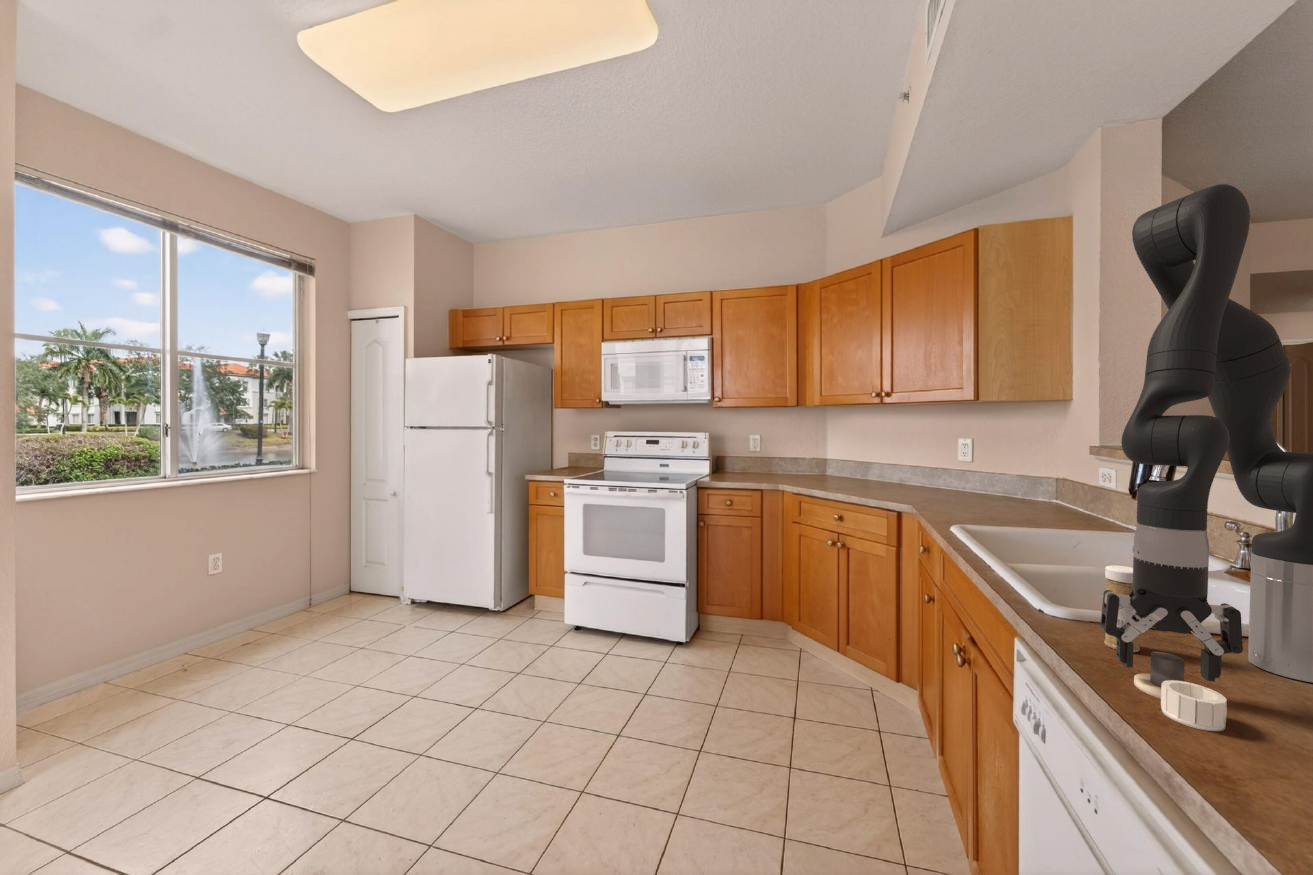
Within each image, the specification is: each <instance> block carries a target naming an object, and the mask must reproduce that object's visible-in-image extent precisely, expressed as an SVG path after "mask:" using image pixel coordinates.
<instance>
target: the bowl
mask: <svg viewBox="0 0 1313 875" xmlns="http://www.w3.org/2000/svg"><path fill="white" fill-rule="evenodd" d="M1227 703H1228V700H1227V698H1226V697H1225V696H1224V695H1223V694H1222V693H1220V692H1218V691H1215V690H1214V689H1211V688H1208V687H1206V686H1203V685H1200V684H1196V683H1193V682H1189V681H1184V682H1183V681H1177V680H1176V681H1174V680H1168V681H1163V683H1162V684H1161V699H1160V707H1161V713H1163V715H1164V716H1165V717H1168V718H1169V719H1171V720H1172V721H1175V722H1177V723H1179V724H1181V725H1184V726H1187V727H1191V728H1193V729H1197V730H1201V731H1205V732H1206V731H1207V732H1223V731H1225V730H1226V723H1227V708H1228V706H1227Z"/></svg>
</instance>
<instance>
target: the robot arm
mask: <svg viewBox="0 0 1313 875" xmlns="http://www.w3.org/2000/svg"><path fill="white" fill-rule="evenodd" d="M1248 202H1249V201H1248V200H1247V198H1246V196H1245V195H1244V193H1243V192H1242V191H1241V190H1239V188H1237V187H1235V186H1234V185H1231V184H1228V183H1224V184H1223V183H1221V184H1215V185H1212V186H1209V187H1205V188H1202V189H1200V190H1197V191H1195V192H1192V193H1189V194H1188V195H1185V196H1182V197H1180V198H1178V199H1175V200H1172V201H1171V202H1168V203H1165V204H1163V205H1160V206H1158V207H1154V208H1153V209H1151V210H1148V211H1146V212H1144V213H1142V214H1141V215H1140V216H1138V217H1137V218H1136V220H1135V222H1134V223H1133V228H1132V230H1131V231H1132V232H1131V233H1132V234H1131V236H1132V243H1133V247H1134V250H1135V253H1136V255H1137V257H1138V260H1139V261H1140V263H1141V265H1142V267H1143V269H1144V271H1145V272H1146V274H1147V276H1148V277H1149V279H1150V281H1151V282H1152V284H1153V285H1154V287H1155V289H1156V290H1157V293H1158V294H1159V296H1160V297H1161V299H1162V300H1163V303H1164V304H1165V306H1166V308H1167V312H1165V315H1164V316H1163V318H1162V319H1161V320H1160V322H1159V323H1158V324H1157V326H1156V328H1155V329H1154V331H1153V334H1152V336H1151V338H1150V341H1149V343H1148V347H1147V350H1146V351H1147V352H1146V360H1145V361H1146V363H1145V370H1144V371H1145V373H1144V382H1143V386H1142V389H1141V393H1140V396H1139V398H1138V400H1137V403H1136V405H1135V407H1134V409H1133V412H1132V414H1131V415H1130V417H1129V419H1128V420H1127V423H1126V425H1125V427H1124V429H1123V432H1122V436H1121V449H1122V451H1123V454H1124V455H1125V456H1126V457H1127V459H1128V460H1129V461H1132V462H1133V463H1135V464H1139V465H1148V466H1149V465H1150V466H1151V465H1152V466H1170V467H1171V466H1172V467H1186V468H1187V469H1186V472H1185V473H1184V475H1183V476H1182V477H1181V478H1179V479H1174V480H1168V481H1167V480H1165V481H1155V482H1147V483H1144V484H1142V485H1140V486H1139V487H1138V490H1137V496H1136V500H1137V501H1136V523H1135V524H1136V527H1135V531H1134V536H1133V545H1132V553H1133V555H1132V556H1133V557H1132V558H1133V560H1132V562H1133V563H1132V564H1133V565H1132V568H1133V589H1132V592H1131V594H1130V595H1122V594H1116V593H1113V592H1112V591H1110V590H1105V591H1104V592H1103V593H1102V594H1103V596H1102V604H1101V606H1102V607H1101V614H1100V623H1099V624H1100V628H1101V629H1102V630H1103V631H1104V633H1107V634H1108V635H1112V636H1114V637H1116V638H1117V647H1116V649H1115V651H1116V652H1115V654H1116V658H1117V659H1118V661H1119V662H1120V663H1121V664H1122V665H1124V667H1125V668H1127V669H1129V668H1130V669H1133V667H1134V652H1133V643H1132V642H1131V641H1132V640H1133V639H1134V638H1136V637H1137V636H1138V635H1139V636H1140V634H1145V632H1147V631H1148V630H1150V629H1151V628H1152V629H1154V630H1156V631H1163V632H1166V631H1171V632H1175V633H1178V634H1185V635H1186V634H1187V633H1189V632H1191V634H1193V636H1195V638H1196V639H1197V640H1198V641H1199V642H1200V643H1201V644H1202V646H1203V647H1204V648H1200V668H1199V669H1200V671H1199V672H1200V675H1201V677H1202V678H1203V679H1204V680H1206V681H1208V682H1215V681H1216V679H1220V676H1222V657H1223V655H1225V654H1231V653H1233V654H1238V655H1239V654H1242V653H1243V650H1244V647H1243V646H1244V643H1243V627H1242V613H1241V611H1240V610H1238V609H1237V608H1236V607H1234V606H1233V605H1232V604H1231V605H1230V604H1229V603H1221V604H1209V602H1208V592H1209V559H1210V544H1209V538H1208V530H1207V529H1208V510H1209V508H1208V505H1209V504H1208V503H1209V498H1210V492H1211V489H1212V485H1213V482H1214V478H1216V474H1217V472H1218V470H1219V468H1220V466H1221V463H1222V462H1223V459H1224V457H1225V455H1226V453H1227V457H1228V460H1229V464H1230V467H1231V472H1232V475H1233V478H1234V481H1235V484H1236V486H1237V489H1238V492H1239V493H1240V494H1241V496H1242V497H1243V498H1244V499H1245V500H1246V501H1247V502H1248V503H1249V504H1251V505H1253V506H1254V507H1256V508H1257V507H1258V508H1261V509H1266V510H1270V511H1278V512H1286V513H1293V514H1295V517H1294V520H1293V523H1292V525H1291V526H1290V527H1289V528H1287V529H1286V528H1285V529H1284V530H1279V531H1272V532H1262V533H1258V534H1255V535H1254V536H1253V537H1252V539H1251V545H1250V546H1251V549H1250V552H1251V554H1250V586H1249V615H1248V616H1249V617H1248V618H1249V621H1248V647H1247V648H1248V650H1247V651H1248V652H1247V653H1248V654H1247V655H1248V656H1247V661H1248V662H1249V663H1250V664H1252V665H1253V666H1256V667H1258V668H1260V669H1262V670H1264V671H1267V672H1269V673H1273V674H1274V675H1277V676H1278V675H1279V676H1282V677H1285V678H1289V679H1294V680H1298V681H1303V682H1308V683H1313V452H1304V451H1303V452H1301V451H1283V450H1282V448H1281V447H1280V446H1279V444H1278V442H1277V441H1276V438H1275V434H1274V432H1273V427H1272V416H1273V413H1274V411H1275V409H1276V407H1277V405H1278V404H1279V401H1280V399H1281V397H1282V396H1283V394H1284V393H1285V390H1286V388H1287V385H1288V383H1289V381H1290V377H1291V372H1292V370H1291V369H1292V368H1291V362H1290V360H1289V358H1288V355H1287V352H1286V349H1285V347H1284V345H1283V343H1282V341H1281V339H1280V336H1279V335H1278V332H1277V331H1276V329H1275V327H1274V326H1273V325H1272V323H1270V322H1269V321H1268V320H1267V319H1266V318H1264V317H1262V316H1261V315H1260V314H1258V313H1256V312H1254V311H1253V310H1251V309H1249V308H1248V307H1246V306H1244V305H1242V304H1240V303H1238V302H1237V301H1235V300H1233V299H1231V298H1230V295H1231V291H1232V289H1233V286H1234V282H1235V280H1236V277H1237V273H1238V269H1239V267H1240V262H1241V259H1242V256H1243V253H1244V249H1245V247H1246V244H1247V240H1248V235H1249V232H1250V231H1249V230H1250V223H1251V222H1250V221H1251V211H1250V205H1249V203H1248ZM1194 261H1195V263H1194ZM1205 398H1207V400H1208V401H1209V404H1210V406H1211V409H1212V412H1213V414H1214V416H1213V415H1207V414H1206V415H1205V414H1204V415H1202V414H1195V415H1193V414H1191V415H1183V414H1182V415H1181V414H1180V415H1164V414H1165V413H1166V412H1167V410H1168V409H1169V408H1171V407H1172V406H1176V405H1180V404H1184V403H1188V402H1189V403H1190V402H1194V401H1198V400H1203V399H1205ZM1128 603H1129V604H1130V605H1131V606H1132V607H1133V609H1134V610H1135V612H1134V613H1133V614H1131V615H1130V616H1129V617H1128V618H1127V619H1126V622H1125V623H1123V624H1122V625H1121V626H1120V627H1117V619H1118V610H1121V609H1123V608H1124V606H1125V605H1126V604H1128ZM1212 614H1213V616H1214V619H1216V620H1218V621H1219V627H1220V628H1219V629H1220V630H1219V631H1220V639H1219V640H1216V639H1215V638H1214V637H1213V635H1211V633H1210V631H1208V630H1207V629H1206V628H1205V627H1204V626H1203V624H1202V623H1203V622H1204V621H1205V620H1206V619H1207V618H1209V617H1210V616H1211V615H1212Z"/></svg>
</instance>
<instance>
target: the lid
mask: <svg viewBox="0 0 1313 875" xmlns="http://www.w3.org/2000/svg"><path fill="white" fill-rule="evenodd" d="M1185 665H1186V664H1185V659H1184V658H1182V657H1180V656H1179V655H1175V654H1172V653H1169V652H1165V651H1164V652H1163V651H1162V652H1161V651H1152V652H1150V671H1149V673H1143V672H1142V673H1137V674H1135V675H1134V676H1133V684H1134V686H1135V687H1136V688H1137V689H1138V690H1140V691H1141V692H1143V693H1145V694H1148V695H1149V696H1152V697H1154V698H1157V699H1160V700H1161V684H1162V683H1163V681H1168V680H1174V681H1176V680H1177V681H1183V682H1185Z"/></svg>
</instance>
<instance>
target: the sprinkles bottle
mask: <svg viewBox="0 0 1313 875" xmlns="http://www.w3.org/2000/svg"><path fill="white" fill-rule="evenodd" d="M1104 569H1105V570H1104V572H1105V573H1104V577H1105V580H1106V583H1105V586H1106V588H1105V589H1106V590H1110V591H1112V592H1113V593H1116V594H1122V595H1130V594H1131V592H1132V589H1133V567H1130V566H1124V565H1107V566H1105V568H1104ZM1106 590H1105V591H1106ZM1134 612H1135V610H1134V609H1133V607H1132V606H1131V605H1130V604H1129V603H1128V604H1126V605H1125V606H1124V608H1123V609H1121V610H1118V619H1117V627H1120V626H1121V625H1122V624H1123V623H1125V622H1126V619H1127V618H1128V617H1129V616H1130V615H1131V614H1133V613H1134ZM1104 633H1105V638H1104V641H1103V643H1104V645H1105V646H1106V647H1109V648H1111V649H1113V650H1116V647H1117V638H1116V637H1114V636H1112V635H1108V634H1107V633H1106V632H1104ZM1131 642H1132V643H1133V653H1138V652H1139V651H1141V646H1140V634H1139V635H1138V636H1137V637H1136V638H1134V639H1133V640H1132V641H1131Z"/></svg>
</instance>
